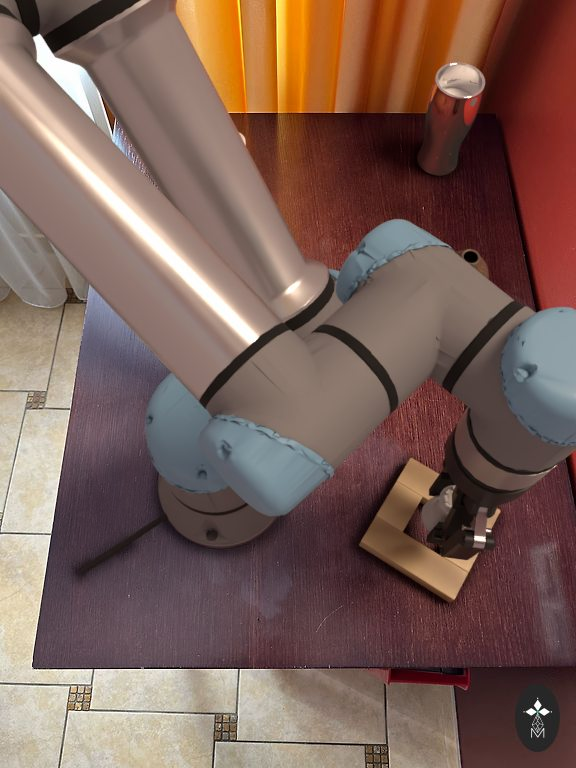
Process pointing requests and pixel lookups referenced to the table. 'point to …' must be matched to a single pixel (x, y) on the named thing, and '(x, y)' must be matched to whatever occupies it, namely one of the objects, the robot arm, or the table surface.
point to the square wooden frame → (404, 550)
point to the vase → (474, 261)
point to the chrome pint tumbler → (450, 116)
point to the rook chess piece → (437, 508)
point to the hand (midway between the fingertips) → (440, 516)
